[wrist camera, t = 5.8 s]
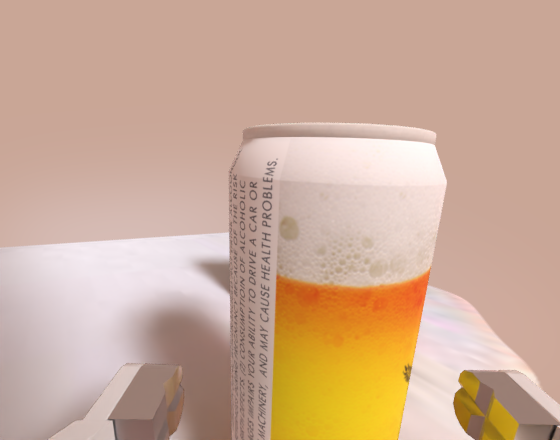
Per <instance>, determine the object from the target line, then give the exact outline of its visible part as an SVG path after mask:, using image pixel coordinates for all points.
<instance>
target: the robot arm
mask: <svg viewBox="0 0 560 440" xmlns="http://www.w3.org/2000/svg"><path fill="white" fill-rule="evenodd" d="M182 377H183V372H182V366H180V365H167V364H135V363H126V364H125V365H123V366H122V367H121V368H120V369H119V371H118V372H117V374H116V375H115V376H114V378H113V379H112V380H111V382H110V383H109V384H108V386H107V387H106V389H105V390H104V391H103V393H102V394H101V395H100V397H99V398H98V399H97V401H96V402H95V404H94V405H93V406H92V408H91V409H90V410H89V412H88V413H87V414H86V416H85V417H84V419H83V420H75V421H74V422H72V423H71V424H70V425H68V426H67V427H65V428H64V429H62V430H61V431H59V432H58V433H56V434H55V435H53V436H52V437H50V438H49V439H47V440H169V437H170V436H171V435H172V434H173V433H174V432H175V431H176V430H177V427H178V424H179V421H180V419H181V414H182V409H183V404H184V389H183V388H182V387H181V386H180V382H181V380H182ZM458 381H459V383H460V385H461V387H462V388H461V389H459V390H458V391H457V392H456V393H455V397H454V402H453V404H454V409H455V414H456V416H457V419H458V421H459V423H460V425H461V426H462V428H463V429H464V431H465V432H466V433H467V434H468V435H469V436H471V437H472V438H473V439H474V440H560V405H559V404H558V403H557V402H556V401H554V400H553V399H552V398H551V397H550V396H549V395H547V394H546V393H545V392H544V391H543V390H542V389H541V388H539V387H538V386H537V385H536V384H535V383H534V382H533V381H531V380H530V379H529V378H528V377H527V376H526V375H524V374H523V373H521V372H519V371H517V370H499V371H496V370H464V371H463V372H462V373H461V374H460V377H459V380H458Z"/></svg>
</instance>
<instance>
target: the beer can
mask: <svg viewBox="0 0 560 440" xmlns="http://www.w3.org/2000/svg"><path fill="white" fill-rule="evenodd" d="M435 140H436V133H434V132H432V131H429V130H424V129H419V128H412V127H404V126H393V125H379V124H358V123H356V124H355V123H289V124H288V123H287V124H270V125H260V126H254V127H249V128H246V129H244V130H243V142H242V144H241V146H240V148H239V150H238V152H237V154H236V157H235V159H234V161H233V163H232V166H231V168H230V170H229V239H230V328H231V418H232V440H398V437H399V432H400V427H401V421H402V416H403V411H404V406H405V400H406V395H407V390H408V385H409V379H410V374H411V369H412V364H413V358H414V353H415V348H416V343H417V337H418V332H419V327H420V322H421V316H422V311H423V306H424V301H425V295H426V290H427V285H428V279H429V274H430V269H431V264H432V259H433V253H434V248H435V243H436V238H437V232H438V226H439V222H440V217H441V211H442V206H443V201H444V195H445V190H446V185H447V181H446V178H445V175H444V172H443V169H442V166H441V163H440V160H439V157H438V154H437V151H436V148H435V146H434V145H435Z"/></svg>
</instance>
